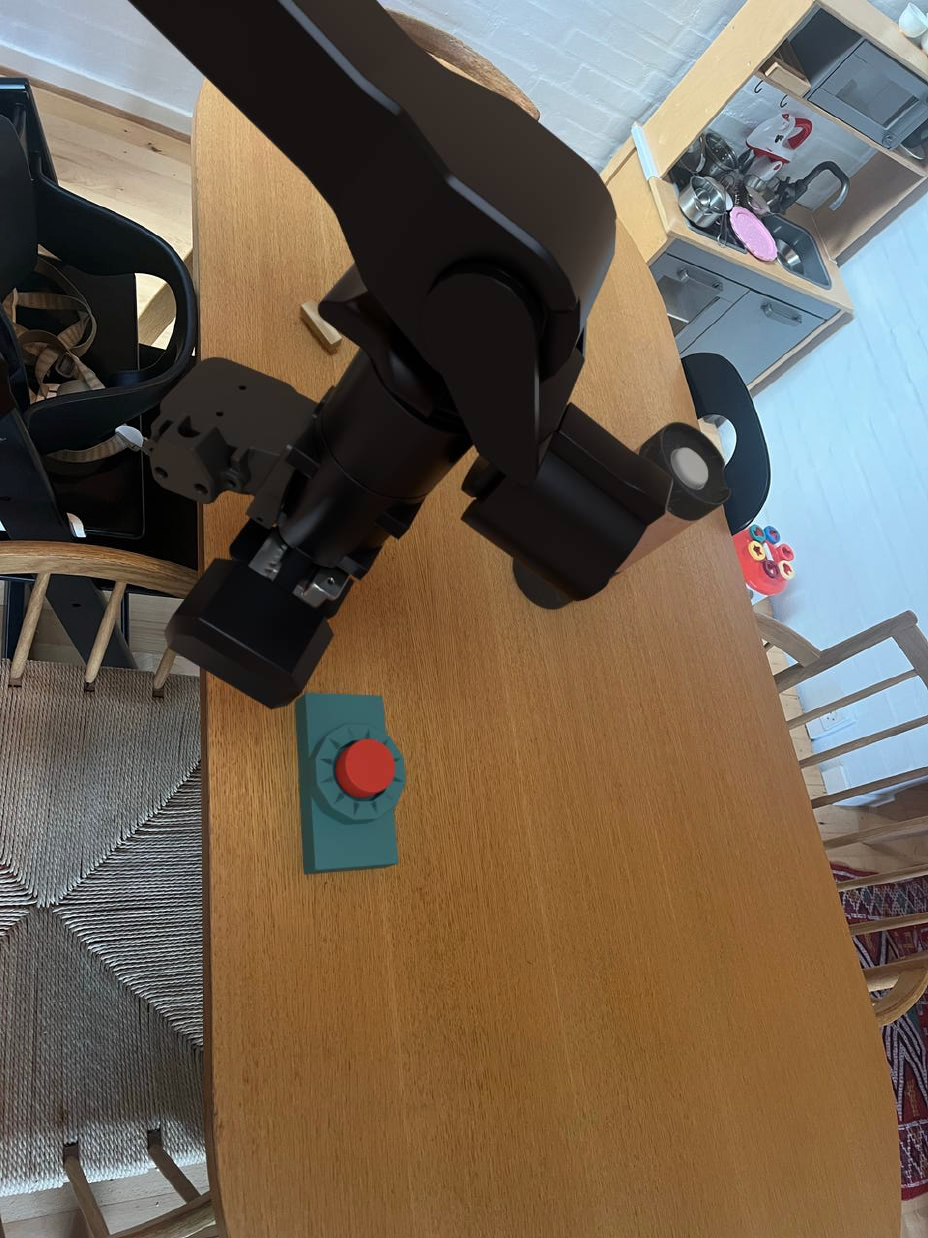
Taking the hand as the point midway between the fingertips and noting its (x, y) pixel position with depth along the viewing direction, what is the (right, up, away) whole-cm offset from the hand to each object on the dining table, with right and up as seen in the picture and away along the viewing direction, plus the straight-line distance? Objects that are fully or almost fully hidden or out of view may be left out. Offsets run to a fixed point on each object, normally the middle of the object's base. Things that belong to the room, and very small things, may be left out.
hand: (268, 594), depth 44 cm
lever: (+4, +30, +29) cm, 42 cm away
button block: (+2, -13, +10) cm, 17 cm away
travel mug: (+19, +3, +30) cm, 35 cm away
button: (+4, -12, +8) cm, 15 cm away
